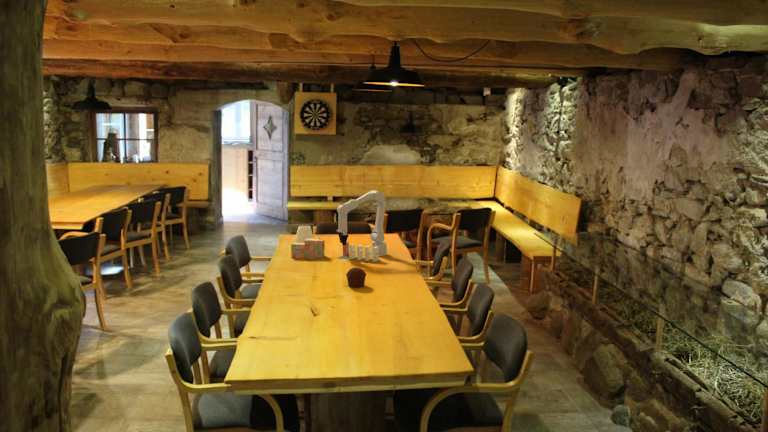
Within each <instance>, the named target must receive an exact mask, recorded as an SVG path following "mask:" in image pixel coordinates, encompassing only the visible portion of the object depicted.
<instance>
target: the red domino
mask: <svg viewBox="0 0 768 432" xmlns="http://www.w3.org/2000/svg"><path fill="white" fill-rule="evenodd" d="M349 246H350V242H349V241H347V242H346V245H342V256H349Z"/></svg>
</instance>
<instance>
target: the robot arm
mask: <svg viewBox="0 0 768 432" xmlns="http://www.w3.org/2000/svg"><path fill="white" fill-rule="evenodd" d="M368 200H370V201H374V202H375V203H376V204H377V209H376V216H375V223H374V227H373V229H372V231H371V235H370V239H371V247H372V248H371V256H373V247H375V246H378V257H382V256H388V254H387V251H388V250H387V247H388V246H387V243H386V242H385V232H384V231H385V230H384V229H383V228H384V221H385V214H386V208H387V207H386V206H387V201H386V199H385V194H384V193H383V192H382V191H379V190H376V189H372V190H370V191H367V192H366V193H365V194H363V195H361V196H360V197H358V198H356V199H349V200H348V201H347V202H344V203H343V204H339V205H338V206H337V208H336V212H337V213H338V214H337V215H338V217H337V218H338V219H337V220H338V223H337V224H338V225H337V226H338V228H337V229H336V232H337V233H336V234H337V235H338V239H339V242H340V244H342V246H343V245H346V242H348V241H347V240H348V238H349V234H347V233H348V231H349V230H348V214H349V212H350V211H353V210H354V209H356V208H357V207H358V206H359V204H361V203H364V202H366V201H368Z"/></svg>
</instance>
